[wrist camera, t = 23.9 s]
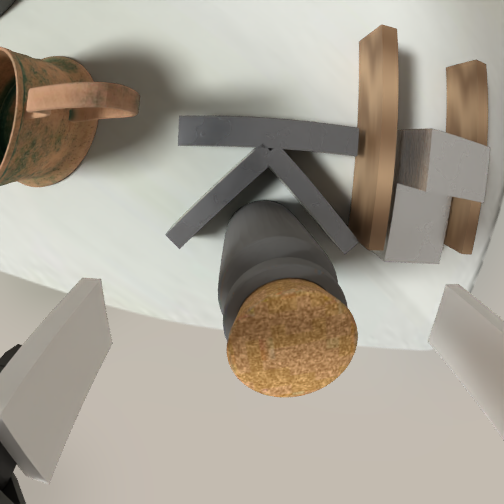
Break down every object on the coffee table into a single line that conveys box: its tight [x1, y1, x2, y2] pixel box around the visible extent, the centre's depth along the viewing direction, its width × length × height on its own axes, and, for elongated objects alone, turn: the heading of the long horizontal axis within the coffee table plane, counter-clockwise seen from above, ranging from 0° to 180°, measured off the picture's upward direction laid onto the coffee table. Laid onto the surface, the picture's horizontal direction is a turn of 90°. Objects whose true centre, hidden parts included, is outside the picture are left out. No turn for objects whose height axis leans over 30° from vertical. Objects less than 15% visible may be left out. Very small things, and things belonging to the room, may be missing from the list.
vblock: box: [166, 116, 359, 254], centre depth 22 cm, size 9×14×3 cm, turn 87°
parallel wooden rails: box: [348, 25, 488, 254], centre depth 21 cm, size 16×10×4 cm, turn 177°
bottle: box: [218, 200, 358, 397], centre depth 18 cm, size 6×6×15 cm
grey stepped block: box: [371, 129, 490, 264], centre depth 21 cm, size 10×6×7 cm, turn 176°
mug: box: [0, 47, 140, 187], centre depth 15 cm, size 12×18×12 cm, turn 84°
